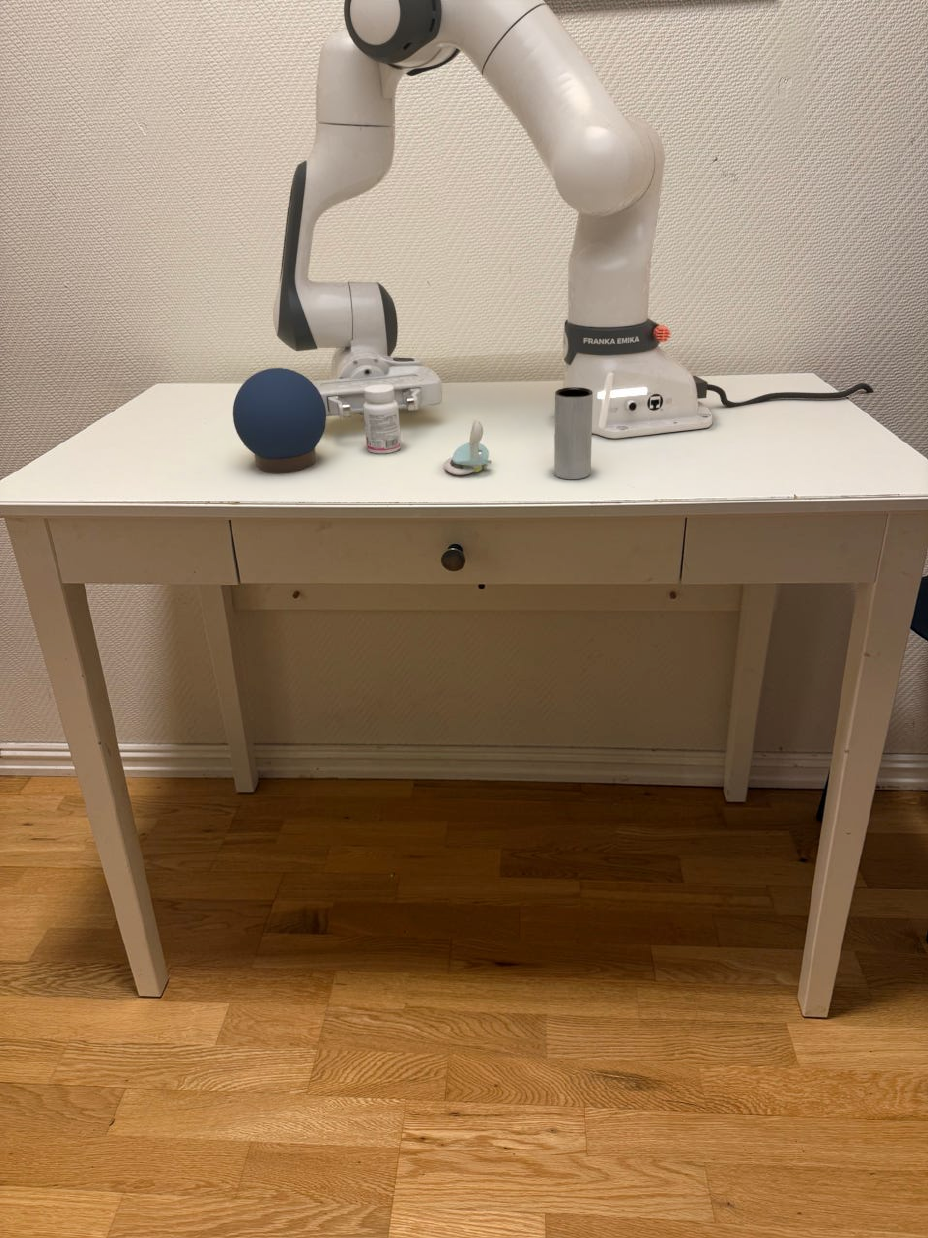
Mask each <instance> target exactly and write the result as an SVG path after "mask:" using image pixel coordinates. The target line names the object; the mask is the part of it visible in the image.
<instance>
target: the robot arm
mask: <svg viewBox="0 0 928 1238" xmlns="http://www.w3.org/2000/svg"><path fill="white" fill-rule="evenodd" d="M343 16H344V18H343V19H344V24H345V27H346V28H345V29H341V30H338V31H336V32H334V33H332V34H330V35H329V36H328V37H327V38H326V39H325V40H324V42H323V43H322V46H321V48H320V52H319V58H318V66H317V73H316V74H317V76H316V87H315V88H316V89H315V121H316V122H315V136H314V141H313V145H312V148H311V151H310V153H309V155H308V156H307V159H306V160H303V161H302V162H300V163H299V164H297V166H296V168H295V170H294V174H293V177H292V181H291V187H290V192H289V193H290V194H289V201H288V206H287V207H288V208H287V213H286V222H285V230H284V239H283V247H282V248H283V249H282V258H281V268H280V277H279V284H278V286H277V291H276V294H275V299H274V303H273V309H272V320H273V327H274V330H275V333H276V337H277V338H278V339H279V340H280V341H281V342H282V343H283V344H284V345H286V346H287V347H289V348H290V349H292V350H293V351H295V352H306V351H315V350H318V349H335V350H334V351H333V354H332V357H331V364H330V370H331V371H330V372H331V376H332V377H331V378H332V379H323V380H314V381H311V382H312V383H313V384H314V385H315V387H316V388H317V389H318V391H319V392H320V394H321V396H322V398H323V401H324V404H325V409H326V417H332V416H339V418H340V419H342V418H351V415H354V414H356V415H358V416H363V417H364V411H363V405H364V403H365V402H367V401H366V400H365V395H364V389H365V388H366V387H368V386H372V385H380V384H385V385H391V386H393V387H394V394H395V398H394V399H393V400H395V401H396V402H397V403H398V410H400V409H406V410H407V412H409V411H410V412H413V411H418V410H419V408H421V407H431V406H432V407H433V406H438V405H440V404H442V403H443V400H444V399H443V383H442V379H441V378H440V376H439V375H438V374H437V372H435V371H434V370H433V369H432V368H430V367H427V366H425V365H423V361H422V359H420V358H417V357H395V356H394V357H393V356H392V354H393V353H394V351H395V349H396V348H397V344H398V334H399V333H398V332H399V326H398V325H399V323H398V314H397V310H396V305H395V302H394V299H393V297H392V295H391V294H390V293H389V291H387V289H386V288H385V287H384V286H383V285H382V284H381V283H379V282H378V281H346V282H345V281H341V282H340V281H338V282H337V281H332V282H331V281H330V282H329V281H313V280H311V279H310V278H309V270H310V264H311V256H312V255H311V254H312V248H313V247H312V246H313V239H314V233H315V228H316V224H317V222H318V221H319V219H320V218H321V216H322V215H323V214H324V213H326V212H327V211H328V210H330V209H331V208H333V207H334V206H337V205H339V204H341V203H344V202H346V201H349V200H351V199H354V198H357V197H359V196H361V195H363V194H365V193H367V192H369V191H371V190H372V189H374V188H376V186H378V185H379V184H380V183H382V181H383V180H384V179H385V178H386V177H387V175H388V174H389V172H390V170H391V168H392V166H393V162H394V156H395V145H396V94H397V89H398V86H399V83H400V81H401V80H402V78H403V77H404V76H405V75H407V76H408V77H414V76H417V75H420V74H424V73H425V72H428V71H432V70H435V69H438V68H441V67H443V66H445V65H447V64H449V63H450V62H452V61H453V60H455V58H456V57H458V55H459V54H460V53H462V54H464V55H465V56H466V57H467V58H468V60H469V61H470V62H471V63H472V65H473V66H474V67H475V68H476V70H477V71H478V72H479V74H480V75H481V76H482V78H483V79H484V80H485V81H486V83H487V84H488V85H489V86H490V87H491V88H492V90H493V91H494V93H495V94H496V95H497V96H498V97H499V99H500V100H501V101H502V102H503V104H504V106H506V108H507V109H508V110H509V111H510V112H511V113H512V115H513V116H514V118H515V119H516V120H517V122H518V123H519V124H520V125H521V127H522V128H523V130H524V131H525V134H526V135H527V137H528V138H529V140H530V141H531V144H532V145H533V147H534V149H535V150H536V153H537V154H538V156H539V158H540V159H541V162H542V164H543V165H544V166H545V168H546V169H547V171H548V173H549V174H550V176H551V178H552V179H553V181H554V185H555V187H556V190H557V193H558V195H559V196H560V197H561V199H562V200H563V201H564V203H566V204H567V205H568V206H570V207H571V208H572V209H573V210H576V211H577V212H578V213H577V221H576V226H575V232H574V237H573V243H572V248H571V250H570V255H569V258H568V262H567V263H568V265H567V267H568V268H567V271H568V272H567V273H568V274H567V318H566V319H565V321H564V328H563V331H562V332H563V334H562V335H563V336H562V350H563V351H562V353H563V354H562V357H563V361H564V364H565V365H564V374H563V381H562V388H569V387H580V388H587V389H590V390H591V391H592V392H593V406H592V434H594V435H598V436H601V437H605V438H608V439H623V438H631V437H633V438H634V437H641V436H649V435H657V434H665V433H666V434H667V433H674V432H682V431H683V432H684V431H691V430H692V431H693V430H701V429H707V428H709V427H711V426H712V424H713V413H712V412H711V410H710V408H709V407H708V406H707V405H706V404H704V403H703V402H701V401H699V400H700V399H706V398H707V395H708V391H711V392H714V393H716V394H717V395H719V398H720V402H721V404H723V406H725V407H727V408H738V407H744V406H749V405H754V404H755V405H756V404H758V403H762V402H766V401H770V400H777V399H778V400H779V399H806V400H807V399H808V400H809V399H810V400H835V399H841V398H846V397H848V396H851V395H852V394H855V393H856V392H858V391H860V390H864V391H865V392H866V393H869V394H874V393H875V390H874V389H873V388H872V386H871V385H869V383H866V382H860V383H857V384H855V385H853V386H851V387H850V388H848V389H846V390H843V391H835V392H804V391H800V392H799V391H784V392H781V391H780V392H770V393H766V394H762V395H759V396H756V397H754V398H751V399H748V400H745V401H741V402H734V401H731V400H728V397H727V393H726V391H725V390H724V389H723V388H722V387H720V386H719V385H715V384H710V383H708V381H706V380H704V379H703V378H701V377H699V376H697V375H693V374H692V373H691V372H690V371H689V369H687V368H686V367H685V366H684V365H683V364H682V363H681V362H679V361H678V360H677V359H675V357H674V356H672V355H671V354H669V352H668V351H666V350H665V349H664V348H663V347H661V346H660V345H659V344H661V343H666V342H668V341H669V339H670V338H671V335H672V334H671V330H670V329H669V328H668V327H667V326H666V325H664V324H660V323H657V322H656V321H654V320H652V319H650V318H649V317H648V313H649V299H650V298H649V297H650V283H651V282H650V281H651V265H652V257H653V255H652V254H653V248H654V241H655V236H656V229H657V223H658V217H659V216H658V215H659V210H660V205H661V195H662V188H663V179H664V178H663V177H664V170H665V162H666V153H665V147H664V144H663V141H662V139H661V137H660V135H659V133H658V132H657V130H656V129H655V127H653V126H652V125H651V124H650V123H649V122H647V121H646V120H643V119H641V118H638V117H635V116H625V115H624V114H623V112H621V110H620V109H619V108H618V106H617V105H616V103H615V102H614V100H613V99H612V97H611V96H610V94H609V92H608V91H607V89H606V88H605V86H604V85H603V83H602V81H601V80H600V78H599V76H598V74H597V72H596V71H595V69H594V67H593V65H592V62H591V60H590V58H589V57H588V55H587V53H586V52H585V51H584V50H583V48H581V46H580V45H579V44H578V42H577V41H576V40H575V38H574V37H573V36H572V34H571V33H570V32H569V31H568V29H567V28H566V27H565V25H564V24H563V22H562V21H560V19H559V18H558V17H557V15H556V14H555V13H554V11H553V10H552V9H551V8H550V6H549V5H548V3H546V1H545V0H344V3H343ZM562 388H561V389H562Z"/></svg>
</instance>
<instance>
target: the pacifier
mask: <svg viewBox="0 0 928 1238" xmlns="http://www.w3.org/2000/svg"><path fill="white" fill-rule="evenodd" d="M470 429H471V430H470V435H469V442H466V443H464V444H463V443H462V444H461V445H460V446H458V447H457V448H456V449H455V451H454V452H453V454H452V457H449V458H448V459H447V460H445V462H444V465H443V467H444V470H445V471H447V472H448V473H450V474H453V475H460V476H463V475H467V474H471V473H478V472H481V471H482V470H483V466H485V465H489V464H492V460H491V459H489V456H490V452H489V451H490V450H489V448H488V447H487V446H486V445H485V444H483V443H481V441H482V439H483V435H484V427H483V424H482V423H481V422H480V420H478V419H474V421H473V423H472V426H471V428H470ZM453 464H457V465H460V466H462V468H456V467H454V466H452V465H453Z"/></svg>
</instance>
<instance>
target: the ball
mask: <svg viewBox="0 0 928 1238" xmlns="http://www.w3.org/2000/svg"><path fill="white" fill-rule="evenodd" d="M312 382H313V381H311V380H310V379H309V378H307V377H306V376H304V375H303V374H301V373H299V372H297V371H295V370H292V369H289V368H283V367H274V368H273V367H271V368H267V369H263V370H260V371H258V372H256V373H254V374H252V375H251V376H250V377H248V378H247V379H246V380H245V381H244V382H243V383H242V384H241V386H240V387H239V389H238V391H237V393H236V394H235V398H234V401H233V405H232V421H233V426H234V429H235V431H236V434H237V436H238V438H239V439H240V441H241V442H242V444H243V445H244V446H245V447H246V449H248V450H249V452H251V453H253V454H254V455H255V454H256V455H258V456H260V457H263V458H271V459H281V458H290V457H296V456H300V455H303V454H306V453H308V452H310V451H312V450H313V449H314V448H315V449H316V447H317V446H318V444H319V443H320V442H321V439H322V437H323V435H324V433H325V431H326V426H327V416H326V409H325V404H324V401H323V398H322V396H321V394H320V392H319V391H318V389H317V388H316V387H315V385H314V384H313V383H312Z"/></svg>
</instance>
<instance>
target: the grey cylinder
mask: <svg viewBox="0 0 928 1238" xmlns="http://www.w3.org/2000/svg"><path fill="white" fill-rule="evenodd" d="M592 406H593V392H592V391H591V390H590V389H587V388H580V387H569V388H560V389H557V390H556V391H554V442H553V443H554V444H553V445H554V448H553V449H554V450H553V461H554V462H553V471H554V476H556V477H557V478H560V479H563V480H580V479H583V478H587V477H589V476H590V475H591V469H592V468H591V467H592V441H593V440H592V439H593V437H592V436H593V433H592Z"/></svg>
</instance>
